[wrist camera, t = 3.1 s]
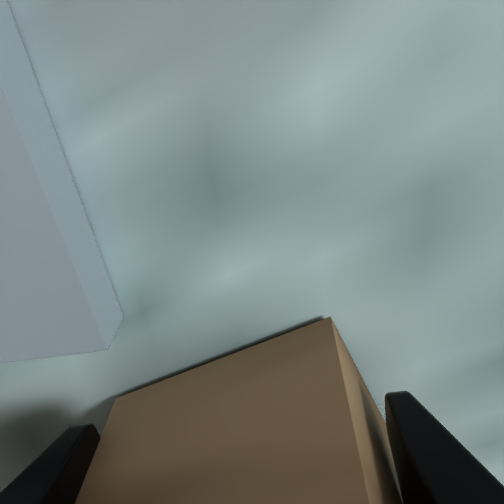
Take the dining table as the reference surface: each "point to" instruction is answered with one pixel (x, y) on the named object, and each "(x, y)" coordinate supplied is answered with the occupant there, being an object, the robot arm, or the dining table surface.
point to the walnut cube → (250, 432)
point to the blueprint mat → (43, 229)
